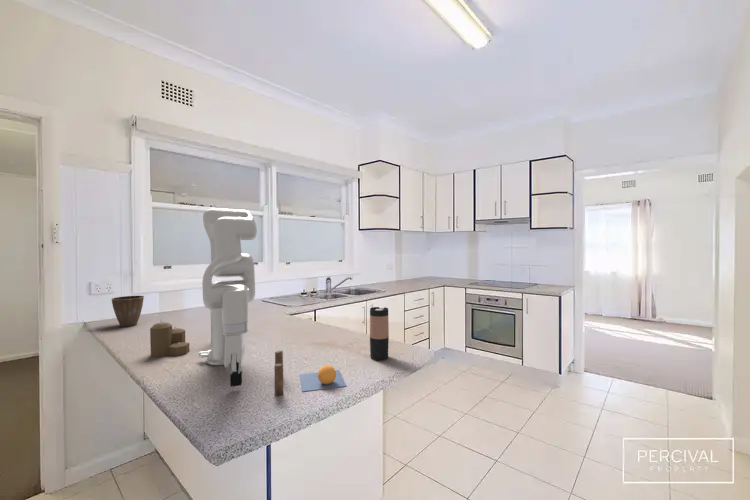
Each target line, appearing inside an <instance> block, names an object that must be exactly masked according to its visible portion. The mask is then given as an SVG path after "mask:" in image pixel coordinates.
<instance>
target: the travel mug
mask: <svg viewBox="0 0 750 500" xmlns="http://www.w3.org/2000/svg"><path fill="white" fill-rule="evenodd" d="M389 328H390V327H389V308H388V307H382V308H380V307H379V306H373V307H370V309H369V351H370V356H369V357H370V359H371V360H372V361H377V362H378V361H386V360H387V359H388V358H389V343H390V342H389V339H390V337H389V336H390V335H389V334H390V333H389Z"/></svg>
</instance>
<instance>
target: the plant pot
mask: <svg viewBox="0 0 750 500" xmlns="http://www.w3.org/2000/svg"><path fill="white" fill-rule="evenodd" d="M144 299H145V296H144V295H126V296H124V295H123V296H117V297H114V298H113V297H112V298H111V304H112V308H113V312H114V314H115V317H116V319H117V321H118V324H119V325H120V327H122V328H127V327H128V328H129V327H134V326H136V325H137V324H138V323H139V320H140V317H141V313H142V309H143V305H144V304H143V303H144Z"/></svg>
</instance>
